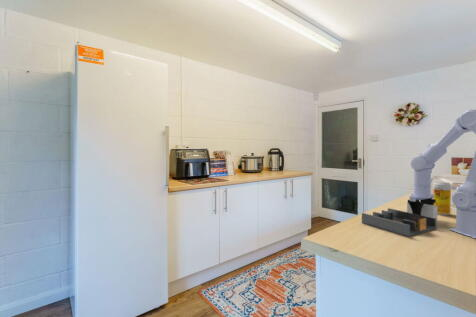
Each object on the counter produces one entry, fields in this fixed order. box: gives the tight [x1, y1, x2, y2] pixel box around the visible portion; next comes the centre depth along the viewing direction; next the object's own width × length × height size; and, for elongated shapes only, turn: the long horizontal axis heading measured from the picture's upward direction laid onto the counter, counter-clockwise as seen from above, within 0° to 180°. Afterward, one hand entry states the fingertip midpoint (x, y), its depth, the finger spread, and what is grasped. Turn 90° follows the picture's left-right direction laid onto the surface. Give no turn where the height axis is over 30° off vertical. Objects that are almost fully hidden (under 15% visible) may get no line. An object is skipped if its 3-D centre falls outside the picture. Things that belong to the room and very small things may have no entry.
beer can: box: [432, 181, 452, 216], centre depth 110 cm, size 6×6×15 cm
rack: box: [361, 207, 438, 238], centre depth 94 cm, size 18×18×5 cm
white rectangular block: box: [406, 201, 438, 224], centre depth 101 cm, size 10×3×7 cm, turn 25°
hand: (421, 216), depth 102 cm, fingers open, 7 cm apart
